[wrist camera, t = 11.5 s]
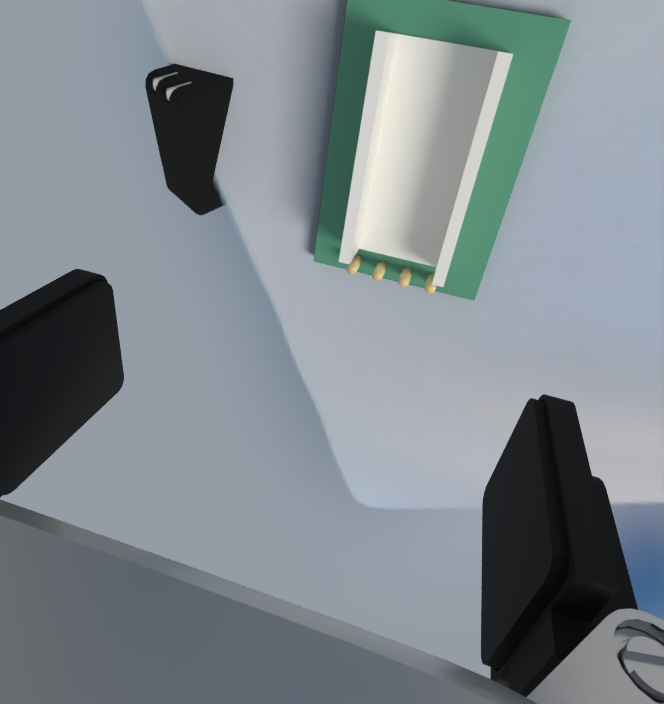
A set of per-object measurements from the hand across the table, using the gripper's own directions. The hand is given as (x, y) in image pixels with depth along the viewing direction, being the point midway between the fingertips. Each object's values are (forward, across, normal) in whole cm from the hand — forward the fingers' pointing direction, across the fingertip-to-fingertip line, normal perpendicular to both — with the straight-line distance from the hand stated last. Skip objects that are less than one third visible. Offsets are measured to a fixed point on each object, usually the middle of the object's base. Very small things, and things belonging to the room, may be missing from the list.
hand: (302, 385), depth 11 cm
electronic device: (+35, +14, +1) cm, 38 cm away
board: (+28, 0, +1) cm, 28 cm away
